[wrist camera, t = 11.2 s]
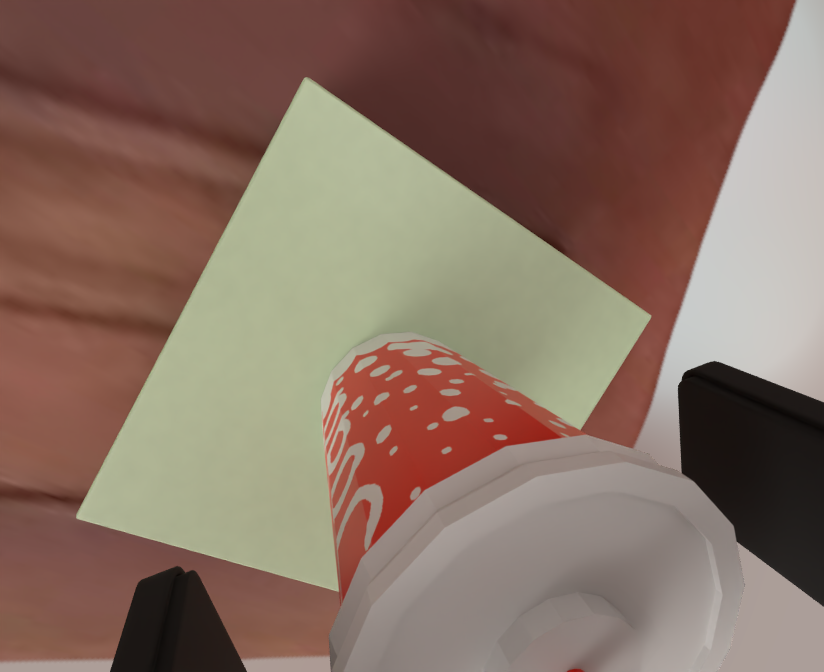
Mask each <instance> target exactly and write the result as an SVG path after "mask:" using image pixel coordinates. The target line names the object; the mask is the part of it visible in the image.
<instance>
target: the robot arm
mask: <svg viewBox="0 0 824 672" xmlns="http://www.w3.org/2000/svg"><path fill="white" fill-rule="evenodd" d="M678 401H679V424H680V444H681V445H680V446H681V468H682V474H683V475H685V476H686V477H688V478H689V479H691V480H692V481H694V482H695V483H696V485H697V486H698V487H699V488H700V489H701V490H702V491H703V492H704V493H705V495H706V496H707V497H708V498H709V499H710V500H711V501H712V502H713V504H714V505H715V506H716V507H717V508H718V509H719V510H720V511H721V512H722V514H723V515H724V516H725V517H726V518H727V519H728V520H729V521H730V523H731V524H732V525H733V526H734V530H735V536H736V541H737V542H738V543H740V544H741V545H742V546H743V547H745V548H746V549H748V550H749V551H750V552H752V553H753V554H754V555H756V556H757V557H758V558H759V559H761V560H762V561H763V562H765V563H766V564H767V565H769V566H770V567H771V568H773V569H774V570H775V571H777V572H778V573H779V574H781V575H782V576H783V577H785V578H786V579H788V580H789V581H790V582H792V583H793V584H794V585H796V586H797V587H798V588H800V589H801V590H802V591H804V592H805V593H806V594H808V595H809V596H810V597H812V598H813V599H814V600H815V601H817V602H819V603H820V604H821V605H822V606H824V402H821V401H819V400H816V399H814V398H811V397H808V396H806V395H803V394H801V393H798V392H795V391H793V390H790V389H787V388H785V387H782V386H780V385H777V384H775V383H772V382H770V381H767V380H764V379H762V378H759V377H757V376H754V375H751V374H749V373H746V372H744V371H741V370H738V369H736V368H733V367H731V366H728V365H725V364H723V363H720V362H716V361H713V362H709V363H706V364H703V365H701V366H698V367H696V368H693V369H691V370H688V371H686V372H685V373H684V375H683V376H682V381H681V382H680V383H679V385H678ZM110 672H247V671H246V669H245V667H244V665H243V663H242V661H241V659H240V657H239V655H238V653H237V651H236V649H235V647H234V645H233V643H232V641H231V639H230V637H229V635H228V633H227V631H226V629H225V627H224V625H223V623H222V621H221V619H220V617H219V615H218V613H217V611H216V609H215V607H214V605H213V603H212V601H211V599H210V597H209V595H208V593H207V591H206V589H205V587H204V585H203V583H202V581H201V579H200V577H199V576H198V574H197V572H195V571H194V570H192V571H189V572H187V573H185V572H184V570H183V569H182V568H181V567H178V566H176V567H174V568H171V569H168V570H166V571H163V572H161V573H158V574H155V575H153V576H150V577H148V578H145V579H142V580H141V581H140V582H139V583H138V585H137V587H136V590H135V593H134V596H133V600H132V603H131V606H130V609H129V612H128V616H127V619H126V622H125V625H124V628H123V632H122V635H121V638H120V641H119V644H118V648H117V651H116V654H115V657H114V661H113V664H112V667H111V670H110Z"/></svg>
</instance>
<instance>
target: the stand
mask: <svg viewBox="0 0 824 672" xmlns="http://www.w3.org/2000/svg"><path fill="white" fill-rule="evenodd" d="M650 319H651V315H650V314H648V313H647V312H646V311H644V310H643V309H641V308H640V307H638V306H637V305H635V304H634V303H633V302H631V301H630V300H628V299H627V298H625V297H624V296H623V295H621V294H620V293H618V292H617V291H615V290H614V289H612V288H611V287H610V286H608V285H607V284H605V283H604V282H602V281H601V280H599V279H598V278H597V277H595V276H594V275H592V274H591V273H589V272H588V271H587V270H585V269H584V268H582V267H581V266H579V265H578V264H576V263H575V262H574V261H572V260H571V259H569V258H568V257H566V256H565V255H563V254H562V253H561V252H559V251H558V250H556V249H555V248H553V247H552V246H550V245H549V244H548V243H546V242H545V241H543V240H542V239H540V238H539V237H538V236H536V235H535V234H533V233H532V232H530V231H529V230H527V229H526V228H525V227H523V226H522V225H520V224H519V223H517V222H516V221H514V220H513V219H512V218H510V217H509V216H507V215H506V214H504V213H503V212H502V211H500V210H499V209H497V208H496V207H494V206H493V205H491V204H490V203H489V202H487V201H486V200H484V199H483V198H481V197H480V196H478V195H477V194H476V193H474V192H473V191H471V190H470V189H468V188H467V187H465V186H464V185H463V184H461V183H460V182H458V181H457V180H455V179H454V178H453V177H451V176H450V175H448V174H447V173H445V172H444V171H442V170H441V169H440V168H438V167H437V166H435V165H434V164H432V163H431V162H429V161H428V160H427V159H425V158H424V157H422V156H421V155H419V154H418V153H417V152H415V151H414V150H412V149H411V148H409V147H408V146H406V145H405V144H404V143H402V142H401V141H399V140H398V139H396V138H395V137H393V136H392V135H391V134H389V133H388V132H386V131H385V130H383V129H382V128H380V127H379V126H378V125H376V124H375V123H373V122H372V121H370V120H369V119H368V118H366V117H365V116H363V115H362V114H360V113H359V112H357V111H356V110H355V109H353V108H352V107H350V106H349V105H347V104H346V103H344V102H343V101H342V100H340V99H339V98H337V97H336V96H334V95H333V94H332V93H330V92H329V91H327V90H326V89H324V88H323V87H321V86H320V85H319V84H317V83H316V82H314V81H313V80H311V79H310V78H308V77H305V78H304V79H303V81H302V83H301V85H300V87H299V89H298V91H297V92H296V94H295V96H294V98H293V100H292V102H291V104H290V106H289V108H288V110H287V112H286V114H285V115H284V117H283V119H282V121H281V123H280V125H279V127H278V129H277V131H276V133H275V135H274V137H273V138H272V140H271V142H270V144H269V146H268V148H267V150H266V152H265V154H264V156H263V158H262V160H261V162H260V163H259V165H258V167H257V169H256V171H255V173H254V175H253V177H252V179H251V181H250V183H249V185H248V186H247V188H246V190H245V192H244V194H243V196H242V198H241V200H240V202H239V204H238V206H237V208H236V209H235V211H234V213H233V215H232V217H231V219H230V221H229V223H228V225H227V227H226V229H225V231H224V232H223V234H222V236H221V238H220V240H219V242H218V244H217V246H216V248H215V250H214V252H213V254H212V255H211V257H210V259H209V261H208V263H207V265H206V267H205V269H204V271H203V273H202V275H201V277H200V278H199V280H198V282H197V284H196V286H195V288H194V290H193V292H192V294H191V296H190V298H189V300H188V301H187V303H186V305H185V307H184V309H183V311H182V313H181V315H180V317H179V319H178V321H177V323H176V325H175V326H174V328H173V330H172V332H171V334H170V336H169V338H168V340H167V342H166V344H165V346H164V348H163V349H162V351H161V353H160V355H159V357H158V359H157V361H156V363H155V365H154V367H153V369H152V371H151V372H150V374H149V376H148V378H147V380H146V382H145V384H144V386H143V388H142V390H141V392H140V394H139V395H138V397H137V399H136V401H135V403H134V405H133V407H132V409H131V411H130V413H129V415H128V417H127V418H126V420H125V422H124V424H123V426H122V428H121V430H120V432H119V434H118V436H117V438H116V440H115V441H114V443H113V445H112V447H111V449H110V451H109V453H108V455H107V457H106V459H105V461H104V463H103V464H102V466H101V468H100V470H99V472H98V474H97V476H96V478H95V480H94V482H93V484H92V486H91V488H90V489H89V491H88V493H87V495H86V497H85V499H84V501H83V503H82V505H81V507H80V509H79V511H78V512H77V514H76V518H78V519H80V520H84V521H87V522H91V523H94V524H98V525H102V526H105V527H109V528H112V529H116V530H120V531H123V532H127V533H130V534H134V535H137V536H141V537H145V538H148V539H152V540H155V541H159V542H163V543H166V544H170V545H173V546H177V547H180V548H184V549H188V550H191V551H195V552H198V553H202V554H206V555H209V556H213V557H216V558H220V559H223V560H227V561H231V562H234V563H238V564H241V565H245V566H249V567H252V568H256V569H259V570H263V571H267V572H270V573H274V574H277V575H281V576H284V577H288V578H292V579H295V580H299V581H302V582H306V583H310V584H313V585H317V586H320V587H324V588H327V589H331V590H335V591H338V592H339V587H338V577H337V567H336V557H335V548H334V538H333V528H332V518H331V509H330V499H329V489H328V480H327V470H326V460H325V450H324V441H323V431H322V415H321V397H322V394H323V392H324V389H325V386H326V384H327V381H328V379H329V376H330V373H331V371H332V370H333V369H334V368H335V366H336V365H337V364H338V363H339V362H340V361H341V360H342V359H343V358H344V357H345V356H346V355H347V354H348V353H349V351H350V350H351V349H352V348H353V347H356V346H358V345H360V344H362V343H364V342H366V341H368V340H370V339H372V338H374V337H376V336H378V335H380V334H388V333H402V332H413V333H416V334H419V335H422V336H425V337H428V338H431V339H434V340H437V341H439V342H441V343H442V344H444V345H445V346H447V347H449V348H450V349H452V350H453V351H455V352H457V353H458V354H460V355H461V356H463V357H464V358H466V359H468V360H469V361H471V362H472V363H474V364H476V365H477V366H479V367H480V368H482V369H484V370H485V371H487V372H488V373H490V374H491V375H493V376H495V377H496V378H498V379H499V380H501V381H503V382H504V383H506V384H507V385H509V386H511V387H512V388H514V389H515V390H517V391H518V392H520V393H522V394H523V395H525V396H526V397H528V398H530V399H531V400H533V401H534V402H536V403H537V404H539V405H541V406H542V407H544V408H545V409H547V410H549V411H550V412H552V413H553V414H555V415H557V416H558V417H560V418H561V419H563V420H564V421H566V422H568V423H569V424H571V425H572V426H574V427H576V428H577V429H579V430H581V428H582V427H583V425H584V423H585V422H586V420H587V419H588V417H589V415H590V414H591V412H592V411H593V409H594V407H595V406H596V404H597V403H598V401H599V400H600V398H601V396H602V395H603V393H604V392H605V390H606V388H607V387H608V385H609V384H610V382H611V381H612V379H613V377H614V376H615V374H616V373H617V371H618V369H619V368H620V366H621V365H622V363H623V361H624V360H625V358H626V357H627V355H628V354H629V352H630V350H631V349H632V347H633V346H634V344H635V342H636V341H637V339H638V338H639V336H640V334H641V333H642V331H643V330H644V328H645V327H646V325H647V323H648V322H649V320H650Z"/></svg>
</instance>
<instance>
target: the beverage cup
mask: <svg viewBox="0 0 824 672" xmlns="http://www.w3.org/2000/svg"><path fill="white" fill-rule="evenodd" d="M321 415H322V431H323V441H324V450H325V460H326V470H327V480H328V489H329V499H330V509H331V518H332V528H333V538H334V548H335V557H336V567H337V577H338V587H339V596H340V606H341V608H340V610H339V612H338V615H337V617H336V620H335V622H334V624H333V627H332V629H331V632H330V634H329V648H330V665H331V672H717V671H718V670H719V668H720V666H721V664H722V663H723V661H724V659H725V657H726V656H727V654H728V652H729V650H730V648H731V643H732V639H733V634H734V630H735V626H736V621H737V617H738V612H739V608H740V604H741V599H742V595H743V590H744V586H745V584H744V578H743V573H742V568H741V563H740V557H739V552H738V546H737V541H736V536H735V530H734V526H733V525H732V524H731V523H730V521H729V520H728V519H727V518H726V517H725V516H724V515H723V514H722V512H721V511H720V510H719V509H718V508H717V507H716V506H715V505H714V504H713V502H712V501H711V500H710V499H709V498H708V497H707V496H706V495H705V493H704V492H703V491H702V490H701V489H700V488H699V487H698V486H697V485H696V483H695V482H694V481H692V480H691V479H689V478H688V477H686V476H685V475H683V474H682V473H680V472H679V471H677V470H674V469H671V468H667V467H664V466H660V465H659V464H658V463H657V462H656V461H655V460H654V459H653V458H652V457H651V456H650V455H649V454H648V453H645V452H641V451H638V450H635V449H632V448H628V447H625V446H622V445H618V444H615V443H612V442H608V441H605V440H602V439H598V438H595V437H592V436H588V435H587V434H585V433H584V432H582V431H580V430H579V429H577V428H576V427H574V426H572V425H571V424H569V423H568V422H566V421H564V420H563V419H561V418H560V417H558V416H557V415H555V414H553V413H552V412H550V411H549V410H547V409H545V408H544V407H542V406H541V405H539V404H537V403H536V402H534V401H533V400H531V399H530V398H528V397H526V396H525V395H523V394H522V393H520V392H518V391H517V390H515V389H514V388H512V387H511V386H509V385H507V384H506V383H504V382H503V381H501V380H499V379H498V378H496V377H495V376H493V375H491V374H490V373H488V372H487V371H485V370H484V369H482V368H480V367H479V366H477V365H476V364H474V363H472V362H471V361H469V360H468V359H466V358H464V357H463V356H461V355H460V354H458V353H457V352H455V351H453V350H452V349H450V348H449V347H447V346H445V345H444V344H442V343H441V342H439V341H437V340H434V339H431V338H428V337H425V336H422V335H419V334H416V333H413V332H402V333H388V334H380V335H378V336H376V337H374V338H372V339H370V340H368V341H366V342H364V343H362V344H360V345H358V346H356V347H353V348H352V349H351V350H350V351H349V353H348V354H347V355H346V356H345V357H344V358H343V359H342V360H341V361H340V362H339V363H338V364H337V365H336V366H335V368H334V369H333V370H332V371H331V373H330V376H329V379H328V381H327V384H326V386H325V389H324V392H323V394H322V397H321Z"/></svg>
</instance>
